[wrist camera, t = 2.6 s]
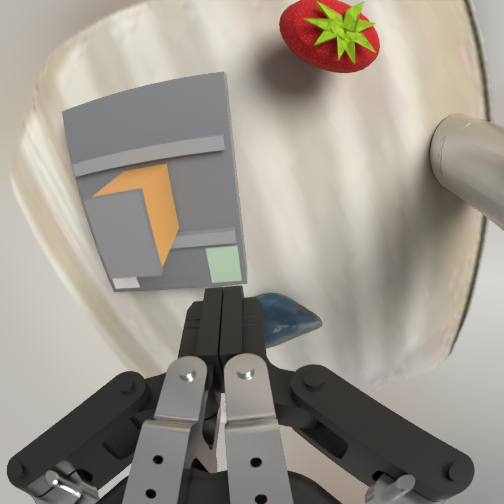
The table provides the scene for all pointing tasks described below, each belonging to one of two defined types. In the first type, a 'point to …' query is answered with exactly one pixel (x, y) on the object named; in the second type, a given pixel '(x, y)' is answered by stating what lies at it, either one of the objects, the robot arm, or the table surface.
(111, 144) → the panel
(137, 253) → the breaker toggle
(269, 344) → the seashell
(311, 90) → the table surface
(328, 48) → the strawberry
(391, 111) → the table surface
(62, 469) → the robot arm
